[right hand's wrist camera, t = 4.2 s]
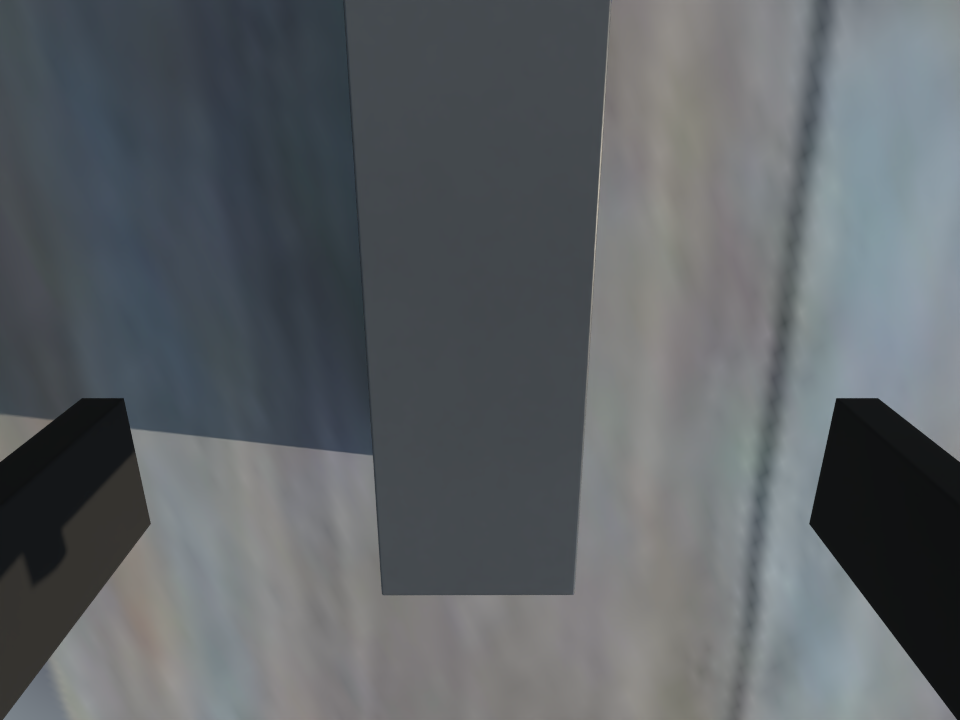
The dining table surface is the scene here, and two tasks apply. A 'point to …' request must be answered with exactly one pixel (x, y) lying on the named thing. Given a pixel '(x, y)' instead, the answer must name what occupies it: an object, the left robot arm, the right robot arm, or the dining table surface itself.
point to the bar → (477, 281)
